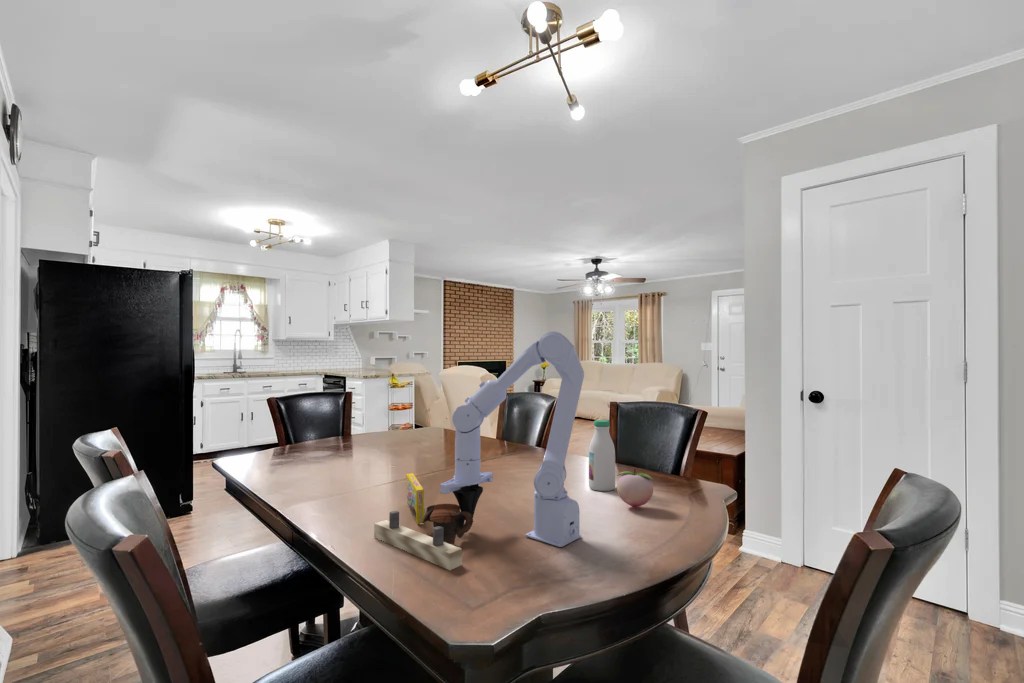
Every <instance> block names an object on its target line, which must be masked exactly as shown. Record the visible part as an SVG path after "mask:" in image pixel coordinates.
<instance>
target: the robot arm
mask: <svg viewBox="0 0 1024 683" xmlns="http://www.w3.org/2000/svg"><path fill="white" fill-rule="evenodd" d="M546 361H547V362H548V363H549V364H551V365H552V366H553V367H554V369H555V371H557V374H559V376H560V377H561V382H560V387H559V391H558V396H557V400H556V404H555V408H554V413H553V417H552V422H551V426H550V431H549V436H548V440H547V444H546V448H545V449H546V450H545V453H544V456H543V459H542V460H543V461H542V463H541V464H540V466H539V467H538V468H539V469H538V471H537V472H536V474H534V475H535V476H534V478H533V486H534V489H535V490H534V492H533V511H534V512H533V530H531V531H529V532H526V533H525V537H526V538H531V539H534V540H536V541H539V542H543V543H546V544H549V545H552V546H555V547H559V548H563V547H564V546H566V545H568V544H570V543H572V542H574V541H576V540H578V539H580V538H582V534H581V533H580V506H579V503H578V501H577V500H575V499H573V498H571V497H570V496H569V495H568V491H567V490H566V488H565V486H564V485H565V481H566V479H567V470H566V467H565V465H566V459H567V454H568V448H569V445H570V440H571V435H572V432H573V427H574V424H575V417H576V414H577V408H578V404H579V402H580V401H579V400H580V395H581V391H582V385H583V382H584V379H585V378H584V377H585V370H584V367H583V366H582V363H581V361H580V357H579V356H578V353H577V351H576V348H575V346H574V345H573V343H572V342H571V341H570V339H568V337H566V336H565V335H563V333H560V332H558V331H555V330H554V331H548V332H546V333H544V334H543V335H542V336H541V337H540V339H539V340H536V341H535V342H533V343H532V344H530V345H529V346H528V347H527V348H526V349H524V351H522V352H521V354H519V356H518V357H517V358H516V359H515V360H514V361H513V362H512V363H511V364H510V365H509V366H508V368H506V369H505V371H503V373H501V375H500V376H499V377H498V378H497V379H487V381H486V382H485V381H481V383H479V385H478V387H479V389H478V390H477V391H476V392H474V394H473V395H471V396H470V397H466V398H465V399H464V402H465V404H462V405H459V406H457V408H456V409H455V411H454V412H453V414H452V418H451V419H452V420H451V421H452V424H453V426H454V428H455V438H454V475H453V476H452V478H451V479H449V480H447V481H445V482H441V483H440V484H439V493H440V494H444V495H449V494H450V493H452V494H453V495H454V497H455V499H456V501H457V503H458V504H457V505H459V506H460V512H463V511H466V512H469V513H470V514H471V515H472V517H473V518H474V515H475V510H476V507H477V504H478V502H479V499H480V497H481V495H482V494H483V492H484V487H483V486H480V484H483V483H484V484H485V483H491V482H494V473H493V472H491V471H485V472H481V470H482V469H481V465H482V464H481V459H482V458H481V452H482V450H481V446H482V444H481V440H482V439H481V425H482V424H483V422H484V420H485V418H488V417H489V415H491V414H492V413H493V412H494V411H495V410H496V409H497V408H498V407H499V406H500V405H501V404H502V403H503V402H504V401H505V400H506V399H507V391H508V389H509V388H510V387H512V386H513V384H515V383H516V382H517V381H518V380H519V379H520V378H521V377H522V376H523V375H525V373H527V372H528V371H529V370H530V369H531V368H532V367H533V366H537V365H541V364H544V363H546ZM465 521H466V519H465Z"/></svg>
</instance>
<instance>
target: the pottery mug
mask: <svg viewBox="0 0 1024 683" xmlns="http://www.w3.org/2000/svg"><path fill="white" fill-rule="evenodd" d="M424 515H425V516H424V518H423V523H426V522H430V523H431V522H432V526H433V528H434V527H437V526H441V527H443V528H444V535H443V542H446V543H448V544H451V545H454V544H455V542H456V537H457V538H459V539H461V538H462V537H463V536H464V535H465V534H466V533H467V532H469V531H470V530H471V528H472V527H473V526H472V525H473V523H474V519H473V518H474V516H473V517H472V515H471V514H470V513H469V512H466V511H463V512H461V510H460V506H459V504H455V503H437V504H432V505H428V507H426V512H425V513H424ZM465 519H466V520H465ZM426 535H427V536H430V537H433V531H432V532H430V533H429V532H428V533H426Z"/></svg>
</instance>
